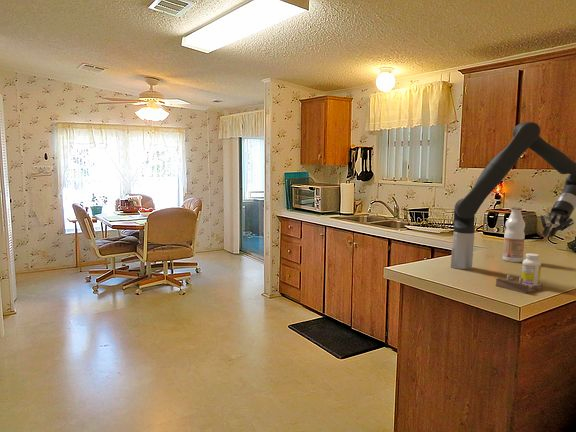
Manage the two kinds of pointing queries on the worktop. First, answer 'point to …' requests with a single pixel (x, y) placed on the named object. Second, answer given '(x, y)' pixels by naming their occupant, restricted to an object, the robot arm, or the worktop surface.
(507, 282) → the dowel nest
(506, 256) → the fruit juice
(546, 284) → the worktop surface
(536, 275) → the supplement bottle
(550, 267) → the worktop surface
